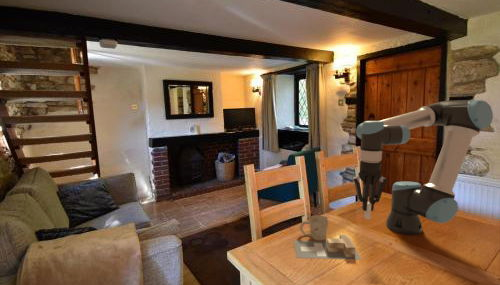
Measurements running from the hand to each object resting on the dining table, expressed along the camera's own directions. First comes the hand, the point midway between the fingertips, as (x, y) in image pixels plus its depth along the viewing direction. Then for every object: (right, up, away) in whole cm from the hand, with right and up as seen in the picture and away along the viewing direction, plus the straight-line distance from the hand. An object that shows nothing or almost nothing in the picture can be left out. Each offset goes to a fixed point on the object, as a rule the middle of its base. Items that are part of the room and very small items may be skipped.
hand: (367, 218), depth 103 cm
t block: (-10, -14, +3) cm, 18 cm away
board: (-16, -15, +4) cm, 22 cm away
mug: (-18, -14, +14) cm, 27 cm away
